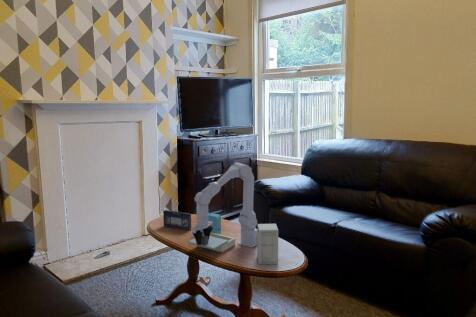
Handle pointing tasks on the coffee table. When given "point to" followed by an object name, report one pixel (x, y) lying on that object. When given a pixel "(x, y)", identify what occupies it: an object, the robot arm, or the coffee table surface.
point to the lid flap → (209, 242)
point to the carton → (226, 246)
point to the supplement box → (267, 243)
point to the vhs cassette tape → (177, 220)
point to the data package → (215, 223)
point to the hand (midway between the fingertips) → (202, 242)
